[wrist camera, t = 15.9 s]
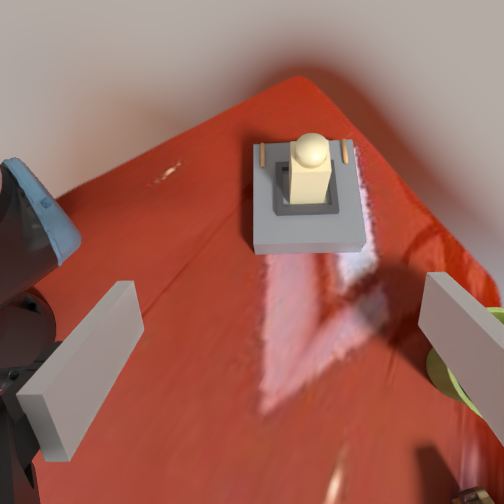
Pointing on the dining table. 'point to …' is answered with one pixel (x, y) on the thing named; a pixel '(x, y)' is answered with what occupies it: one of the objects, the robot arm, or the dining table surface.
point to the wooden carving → (473, 497)
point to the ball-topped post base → (306, 205)
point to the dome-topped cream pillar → (309, 169)
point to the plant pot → (444, 376)
